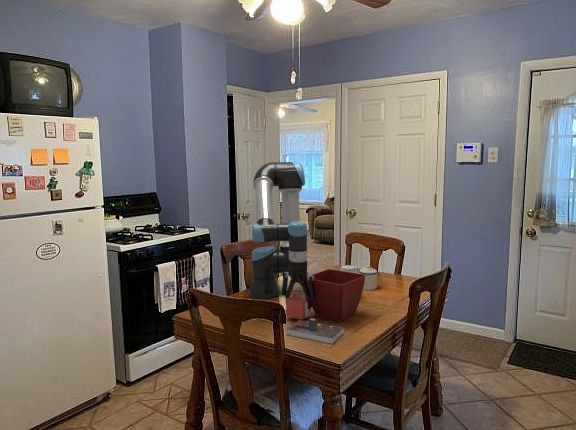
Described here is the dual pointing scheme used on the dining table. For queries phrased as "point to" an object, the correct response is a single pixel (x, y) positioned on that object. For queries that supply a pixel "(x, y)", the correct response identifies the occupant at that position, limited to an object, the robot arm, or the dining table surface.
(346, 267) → the supplement can
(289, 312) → the red cube
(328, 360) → the dining table surface
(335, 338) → the breaker panel
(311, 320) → the breaker toggle
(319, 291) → the plant pot
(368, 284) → the teacup with lid
